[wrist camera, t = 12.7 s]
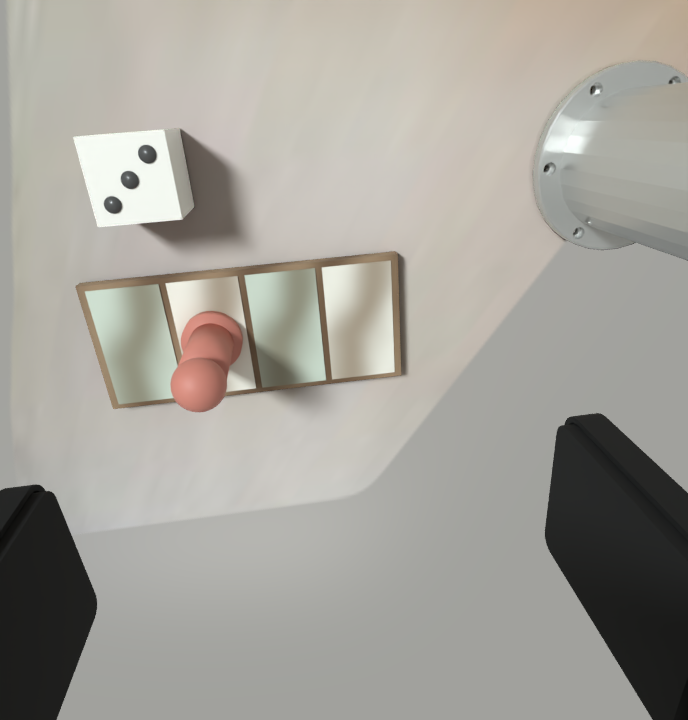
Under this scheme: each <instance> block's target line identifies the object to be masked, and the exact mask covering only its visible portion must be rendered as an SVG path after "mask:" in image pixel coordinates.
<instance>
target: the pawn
mask: <svg viewBox="0 0 688 720" xmlns="http://www.w3.org/2000/svg"><path fill="white" fill-rule="evenodd" d="M242 344H243V335H242V331H241V329H240V327H239V325H238V324H237V322H236V321H235V320H234V319H233V318H231V317H230V316H228V315H226V314H224V313H222V312H218V311H205V312H201V313H199V314H196V315H195V316H193V317H192V318H191V319H190V320H189V321H188V322H187V324H186V326H185V328H184V330H183V332H182V335H181V347H182V351H183V355H182V357H181V360H180V362H179V365H178V367H177V368H176V370H175V371H174V373H173V375H172V378H171V383H170V387H171V393H172V395H173V398H174V399H175V401H176V402H177V403H178V404H179V405H180V406H181V407H183V408H184V409H186V410H189V411H192V412H205V411H208V410H211V409H213V408H214V407H216V406H217V405H218V404H219V403H220V402H221V401H222V399H223V398H224V396H225V393H226V390H227V377H228V372H229V367H230V365H232V364H233V363H234V362H235V361H236V360H237V359H238V357H239V355H240V353H241V349H242Z"/></svg>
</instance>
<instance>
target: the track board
mask: <svg viewBox="0 0 688 720" xmlns="http://www.w3.org/2000/svg"><path fill="white" fill-rule="evenodd" d="M76 290H77V293H78V297H79V300H80V303H81V306H82V309H83V313H84V316H85V319H86V322H87V326H88V329H89V332H90V335H91V339H92V342H93V345H94V348H95V351H96V355H97V358H98V361H99V364H100V368H101V371H102V374H103V377H104V381H105V384H106V387H107V390H108V393H109V397H110V400H111V403H112V406H113V409H118V408H126V407H135V406H143V405H152V404H160V403H169V402H176V401H175V399H174V398H173V395H172V393H171V387H170V383H171V378H172V375H173V373H174V371H175V370H176V368H177V367H178V365H179V362H180V360H181V357H182V355H183V351H182V347H181V335H182V332H183V330H184V328H185V326H186V324H187V322H188V321H189V320H190V319H191V318H192V317H193V316H195V315H196V314H199V313H201V312H205V311H218V312H222V313H224V314H226V315H228V316H230V317H231V318H233V319H234V320H235V321H236V322H237V324H238V325H239V327H240V329H241V331H242V335H243V344H242V349H241V353H240V355H239V357H238V359H237V360H236V361H235V362H234V363H233V364H232V365H230V367H229V372H228V377H227V390H226V393H225V396H229V395H237V394H246V393H254V392H263V391H271V390H280V389H288V388H297V387H305V386H314V385H322V384H331V383H339V382H348V381H356V380H365V379H373V378H382V377H390V376H399V375H401V350H400V315H399V279H398V254H397V253H396V252H395V251H394V252H384V253H374V254H364V255H355V256H345V257H335V258H325V259H315V260H305V261H295V262H285V263H275V264H265V265H255V266H245V267H235V268H225V269H215V270H205V271H195V272H185V273H175V274H165V275H155V276H145V277H135V278H125V279H115V280H105V281H96V282H86V283H79V284H78V285H77V286H76Z"/></svg>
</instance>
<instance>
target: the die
mask: <svg viewBox="0 0 688 720" xmlns="http://www.w3.org/2000/svg"><path fill="white" fill-rule="evenodd" d="M73 138H74V142H75V146H76V149H77V153H78V156H79V160H80V164H81V167H82V171H83V175H84V178H85V182H86V186H87V189H88V193H89V197H90V200H91V204H92V208H93V211H94V215H95V218H96V222H97V226H98V227H106V226H117V225H128V224H139V223H150V222H161V221H172V220H182V219H183V218H184V217H185V216H186V215H187V214H188V213H189V212H190V211H191V210H192V209H193V208H194V207H195V206H194V201H193V196H192V191H191V185H190V180H189V175H188V170H187V164H186V159H185V154H184V149H183V143H182V138H181V133H180V128H174V129H162V130H149V131H136V132H124V133H111V134H99V135H88V136H77V137H73Z"/></svg>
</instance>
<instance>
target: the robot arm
mask: <svg viewBox="0 0 688 720" xmlns="http://www.w3.org/2000/svg"><path fill="white" fill-rule="evenodd" d="M591 87H592V93H591V94H590V89H591ZM545 165H547V169H546V170H545V171H544V167H545ZM533 185H534V193H535V197H536V201H537V205H538V208H539V210H540V212H541V214H542V216H543V218H544V220H545V221H546V222H547V223H548V225H549V226H550V227H551V228H552V230H553V231H555V232H556V233H557V234H558V235H560V236H561V237H562V238H563V239H565V240H567V241H569V242H572V243H574V244H576V245H579V246H582V247H585V248H588V249H597V250H608V249H618V248H621V247H624V246H628V245H631V244H634V243H639V244H642V245H645V246H648V247H651V248H653V249H657V250H659V251H662V252H665V253H668V254H671V255H674V256H676V257H679V258H682V259H685V260H688V77H687V76H686V75H685V74H683V73H682V72H680V71H679V70H677V69H675V68H674V67H672V66H670V65H666V64H663V63H660V62H656V61H632V62H626V63H621V64H617V65H614V66H611V67H607V68H605V69H603V70H601V71H599V72H597V73H595V74H593V75H591V76H589V77H588V78H587V79H585V80H584V81H583V82H582V83H580V84H579V85H578V86H576V87H575V88H574V89H573V90H572V91H571V92H570V93H569V94H568V95H567V96H566V97H565V98H564V99H563V100H562V102H561V103H560V104H559V105H558V107H557V108H556V110H555V111H554V113H553V114H552V116H551V117H550V119H549V120H548V122H547V124H546V127H545V129H544V131H543V133H542V135H541V137H540V140H539V144H538V147H537V151H536V154H535V160H534V168H533ZM574 230H575V232H574ZM545 539H546V543H547V546H548V549H549V550H550V553H551V554H552V556H553V558H554V559H555V561H556V563H557V564H558V566H559V568H560V569H561V571H562V572H563V574H564V576H565V577H566V579H567V581H568V582H569V584H570V585H571V587H572V589H573V590H574V592H575V593H576V595H577V597H578V598H579V600H580V602H581V603H582V605H583V606H584V608H585V610H586V612H587V613H588V615H589V616H590V618H591V620H592V621H593V623H594V625H595V626H596V628H597V630H598V631H599V633H600V634H601V636H602V638H603V639H604V641H605V643H606V644H607V646H608V647H609V649H610V651H611V652H612V654H613V656H614V657H615V659H616V660H617V662H618V664H619V665H620V667H621V669H622V670H623V672H624V674H625V675H626V677H627V678H628V680H629V682H630V683H631V685H632V687H633V688H634V690H635V691H636V693H637V695H638V696H639V698H640V700H641V701H642V703H643V705H644V706H645V708H646V709H647V711H648V713H649V714H650V716H651V717H652V719H653V720H688V493H687V492H686V491H685V490H684V489H683V488H682V487H681V486H680V485H678V484H677V483H676V482H675V481H674V480H673V479H672V478H671V477H670V476H669V475H668V474H667V473H665V472H664V471H663V470H662V469H661V468H660V467H659V466H658V465H657V464H656V463H655V462H654V461H653V460H652V459H650V458H649V457H648V456H647V455H646V454H645V453H644V452H643V451H642V450H641V449H640V448H639V447H637V446H636V445H635V444H634V443H633V442H632V441H631V440H630V439H629V438H628V437H627V436H626V435H625V434H624V433H623V432H621V431H620V430H619V429H618V428H617V427H616V426H615V425H614V424H613V423H612V422H611V421H610V420H609V419H607V418H606V417H605V416H604V415H602V414H599V413H596V414H588V415H580V416H573V417H569V418H567V420H566V422H565V425H563V426H560V427H559V428H558V431H557V435H556V443H555V452H554V460H553V468H552V477H551V486H550V493H549V502H548V510H547V518H546V527H545ZM96 610H97V599H96V595H95V592H94V590H93V587H92V585H91V582H90V580H89V577H88V575H87V572H86V570H85V567H84V565H83V563H82V560H81V558H80V555H79V553H78V550H77V548H76V545H75V543H74V540H73V538H72V536H71V533H70V531H69V528H68V526H67V523H66V521H65V518H64V516H63V513H62V511H61V509H60V506H59V504H58V501H57V499H56V497H55V495H54V494H53V493H52V492H50V491H45V490H44V488H43V487H42V486H40V485H29V486H21V487H13V488H5V489H3V490H1V491H0V720H56V719H57V716H58V714H59V711H60V709H61V706H62V703H63V701H64V698H65V695H66V693H67V690H68V687H69V684H70V682H71V679H72V677H73V674H74V672H75V669H76V666H77V663H78V661H79V658H80V656H81V653H82V650H83V648H84V645H85V642H86V640H87V637H88V634H89V632H90V629H91V626H92V624H93V621H94V619H95V615H96Z"/></svg>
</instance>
